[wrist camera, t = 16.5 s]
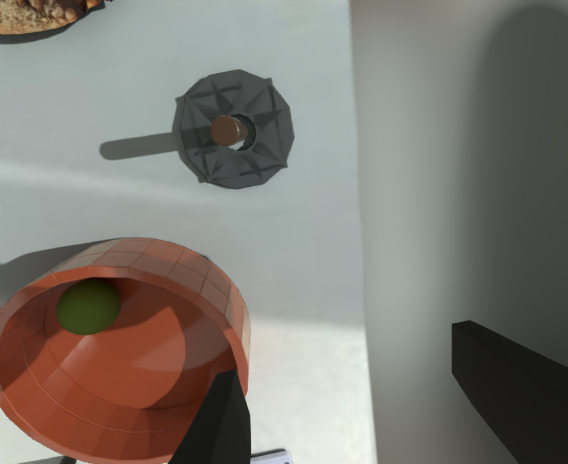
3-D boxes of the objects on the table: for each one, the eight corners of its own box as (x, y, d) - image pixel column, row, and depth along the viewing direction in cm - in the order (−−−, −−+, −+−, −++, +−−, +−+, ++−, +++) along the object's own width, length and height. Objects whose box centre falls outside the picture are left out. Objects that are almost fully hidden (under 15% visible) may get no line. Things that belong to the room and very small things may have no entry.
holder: (300, 175, 17) (301, 176, 17) (200, 195, 17) (198, 197, 16) (281, 62, 15) (281, 60, 15) (169, 84, 15) (166, 83, 15)
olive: (92, 262, 17) (134, 292, 19) (51, 301, 17) (97, 330, 18) (80, 277, 15) (131, 312, 16) (31, 324, 14) (87, 356, 15)
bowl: (268, 387, 22) (269, 441, 18) (89, 425, 22) (53, 487, 18) (222, 217, 17) (212, 240, 14) (-1, 262, 17) (-74, 298, 13)
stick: (249, 139, 16) (242, 143, 10) (231, 143, 16) (214, 149, 10) (245, 120, 16) (235, 112, 10) (226, 124, 16) (205, 118, 10)
